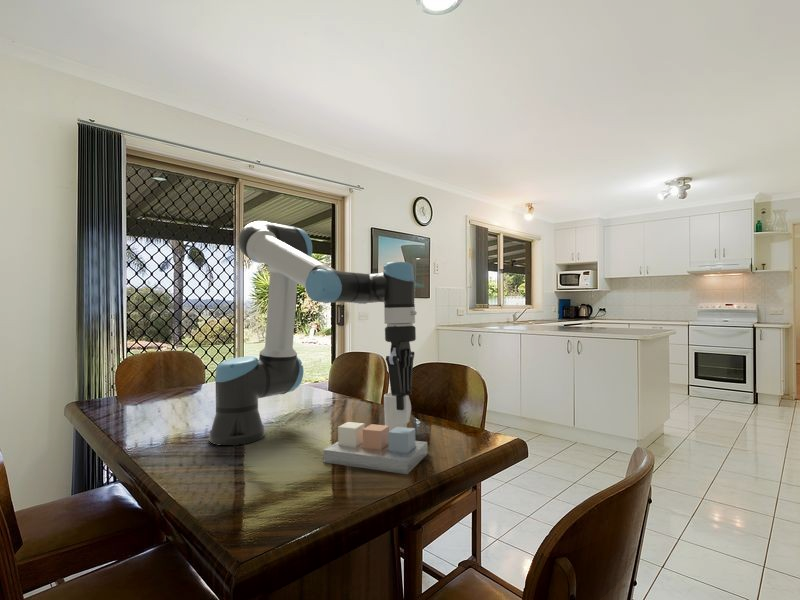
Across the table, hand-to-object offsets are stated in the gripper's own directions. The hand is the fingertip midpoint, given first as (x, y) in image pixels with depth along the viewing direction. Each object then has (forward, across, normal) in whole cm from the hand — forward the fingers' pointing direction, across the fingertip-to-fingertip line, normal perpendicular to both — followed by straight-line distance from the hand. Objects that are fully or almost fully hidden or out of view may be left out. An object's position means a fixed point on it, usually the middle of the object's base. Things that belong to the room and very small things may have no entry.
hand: (402, 422), depth 99 cm
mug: (+10, +20, +9) cm, 24 cm away
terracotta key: (+7, 0, +7) cm, 10 cm away
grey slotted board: (+9, 0, +7) cm, 12 cm away
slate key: (+7, 0, 0) cm, 7 cm away
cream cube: (+7, 0, +14) cm, 16 cm away
